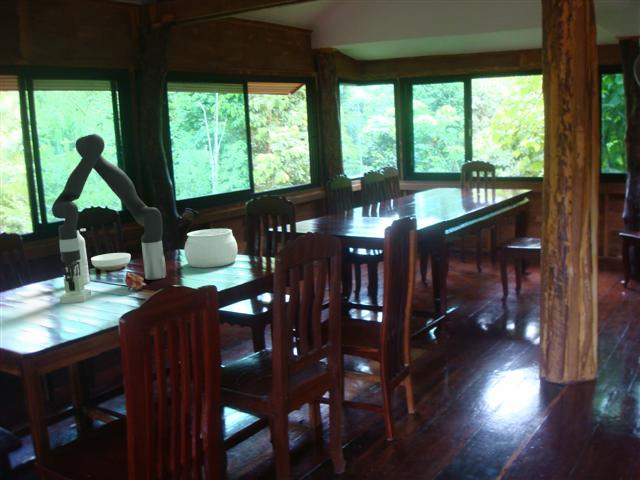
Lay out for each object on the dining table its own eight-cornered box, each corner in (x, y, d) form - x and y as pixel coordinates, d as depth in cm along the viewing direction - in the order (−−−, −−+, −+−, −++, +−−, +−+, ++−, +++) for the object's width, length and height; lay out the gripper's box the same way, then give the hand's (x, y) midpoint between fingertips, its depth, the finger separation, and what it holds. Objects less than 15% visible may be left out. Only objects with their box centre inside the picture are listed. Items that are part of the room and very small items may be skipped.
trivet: (91, 295, 292) (90, 289, 292) (84, 301, 282) (84, 295, 282) (67, 297, 292) (67, 291, 291) (60, 303, 282) (59, 297, 281)
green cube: (84, 288, 289) (82, 274, 288) (80, 292, 283) (78, 277, 282) (69, 289, 289) (68, 275, 288) (65, 293, 283) (63, 279, 282)
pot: (214, 256, 366) (211, 226, 363) (251, 259, 350) (248, 228, 347) (172, 267, 342) (169, 235, 339) (210, 271, 327) (207, 238, 324)
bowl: (139, 265, 354) (138, 253, 353) (110, 273, 338) (108, 261, 337) (114, 263, 364) (112, 252, 363) (84, 271, 348) (82, 259, 347)
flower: (121, 290, 291) (131, 274, 290) (117, 282, 298) (126, 267, 298) (141, 299, 296) (151, 283, 296) (136, 291, 304) (145, 275, 304)
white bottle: (82, 285, 314) (76, 231, 310) (72, 284, 317) (65, 231, 313) (96, 280, 322) (90, 228, 317) (86, 280, 324) (79, 228, 320)
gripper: (73, 251, 276) (78, 292, 279) (84, 245, 291) (88, 284, 293) (55, 253, 276) (60, 293, 279) (66, 246, 290) (71, 285, 293)
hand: (74, 288), depth 286 cm, fingers closed on green cube, 6 cm apart
